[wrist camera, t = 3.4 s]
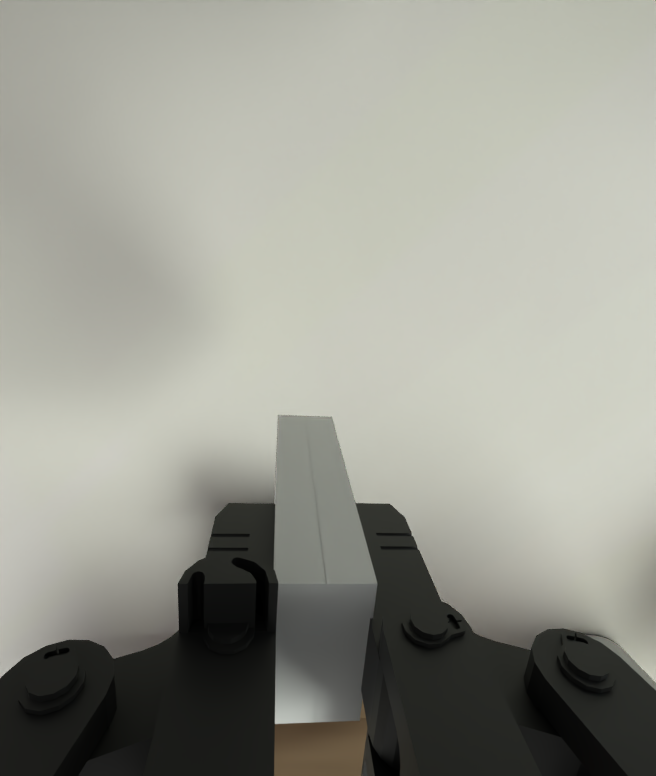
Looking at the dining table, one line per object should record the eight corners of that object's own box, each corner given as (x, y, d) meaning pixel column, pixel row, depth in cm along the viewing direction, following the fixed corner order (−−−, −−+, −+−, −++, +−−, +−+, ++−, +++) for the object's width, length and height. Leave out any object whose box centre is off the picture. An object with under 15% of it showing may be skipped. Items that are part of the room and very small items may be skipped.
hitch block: (180, 632, 22) (136, 803, 15) (386, 629, 23) (426, 788, 17) (183, 722, 24) (145, 909, 17) (373, 715, 25) (405, 889, 18)
